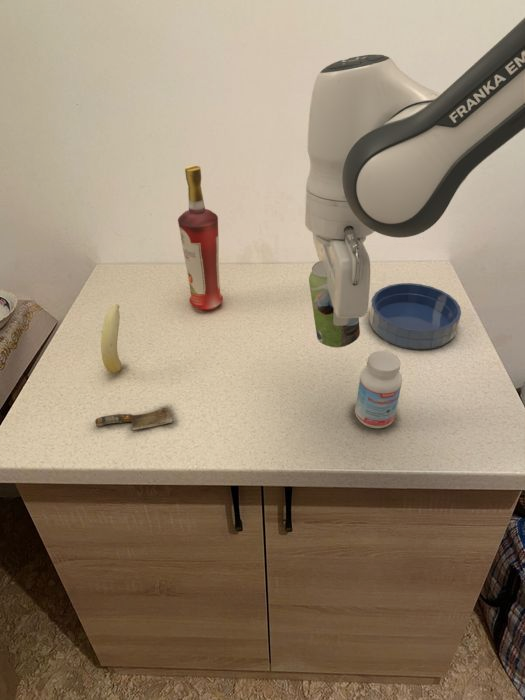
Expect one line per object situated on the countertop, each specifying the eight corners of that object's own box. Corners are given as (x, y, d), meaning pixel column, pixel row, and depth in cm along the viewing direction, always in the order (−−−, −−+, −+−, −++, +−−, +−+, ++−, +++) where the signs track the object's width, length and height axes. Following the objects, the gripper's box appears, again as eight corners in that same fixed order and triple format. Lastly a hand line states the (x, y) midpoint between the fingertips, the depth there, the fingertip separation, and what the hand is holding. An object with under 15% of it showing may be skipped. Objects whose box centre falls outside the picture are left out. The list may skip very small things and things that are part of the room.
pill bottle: (365, 433, 76) (374, 378, 69) (348, 406, 80) (355, 351, 73) (401, 425, 77) (414, 369, 70) (383, 398, 82) (393, 343, 75)
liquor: (182, 303, 105) (163, 167, 87) (212, 291, 108) (199, 158, 91) (200, 318, 100) (184, 178, 83) (231, 306, 103) (222, 169, 86)
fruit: (95, 380, 84) (110, 384, 83) (98, 312, 79) (114, 316, 79) (111, 366, 89) (125, 370, 89) (114, 302, 84) (129, 306, 84)
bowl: (439, 300, 104) (444, 281, 101) (468, 349, 91) (474, 329, 88) (361, 303, 103) (364, 284, 101) (379, 352, 91) (383, 332, 88)
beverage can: (361, 352, 69) (371, 276, 62) (308, 353, 69) (311, 277, 62) (355, 326, 74) (363, 252, 67) (305, 327, 74) (308, 253, 67)
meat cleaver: (170, 433, 77) (176, 410, 81) (170, 427, 76) (175, 405, 80) (93, 430, 77) (103, 408, 81) (92, 425, 76) (101, 402, 80)
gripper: (390, 249, 52) (375, 353, 61) (351, 180, 68) (344, 270, 77) (330, 252, 52) (323, 356, 61) (305, 182, 68) (303, 272, 77)
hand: (334, 307), depth 69 cm, fingers closed on beverage can, 5 cm apart
